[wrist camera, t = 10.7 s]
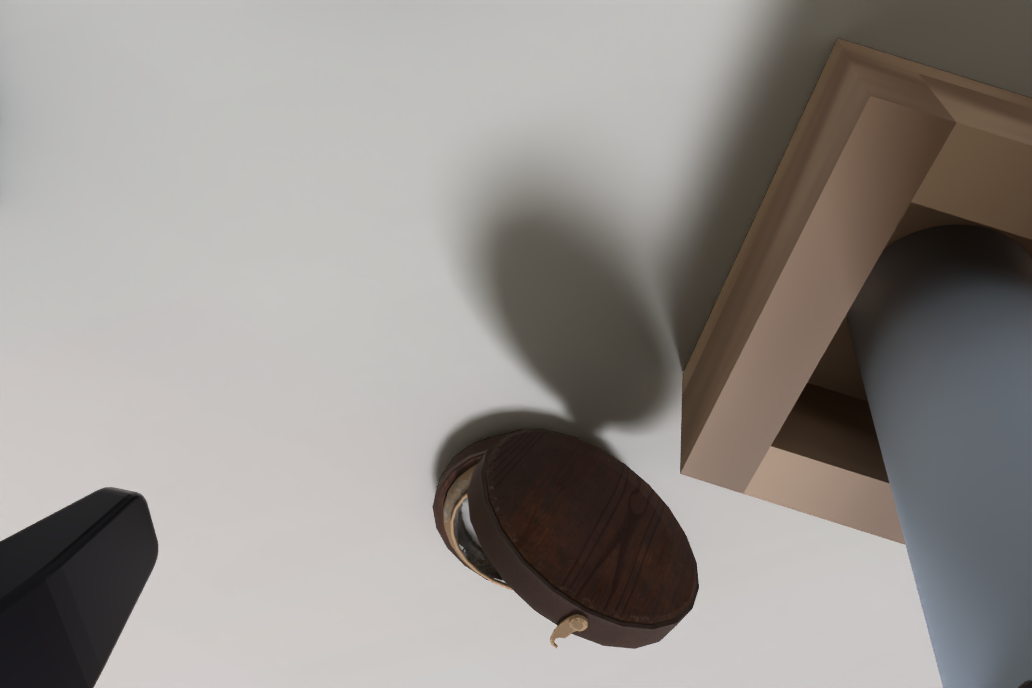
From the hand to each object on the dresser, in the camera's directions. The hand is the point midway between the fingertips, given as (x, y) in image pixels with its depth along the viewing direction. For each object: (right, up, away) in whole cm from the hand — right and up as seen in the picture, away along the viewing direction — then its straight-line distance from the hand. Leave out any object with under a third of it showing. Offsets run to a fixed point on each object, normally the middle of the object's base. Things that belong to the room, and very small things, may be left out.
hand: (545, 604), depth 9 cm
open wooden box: (+10, +4, +11) cm, 15 cm away
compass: (+2, -2, +17) cm, 18 cm away
